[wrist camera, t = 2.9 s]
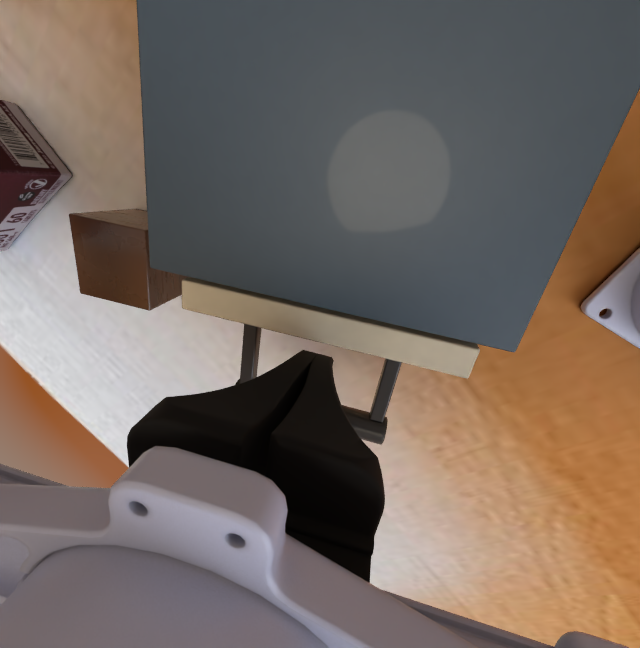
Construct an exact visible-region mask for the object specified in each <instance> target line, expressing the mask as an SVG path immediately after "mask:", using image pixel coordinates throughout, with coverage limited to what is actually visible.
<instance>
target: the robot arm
mask: <svg viewBox="0 0 640 648" xmlns="http://www.w3.org/2000/svg"><path fill="white" fill-rule="evenodd" d="M603 309H607V312H606V314H604V315H602V316H599V313H600V311H601V310H603ZM581 310H582V312H583V313H584V314H586V315H587V316H589V317H590V318H592V319H593V320H595V321H597V322H598V323H600V324H601V325H603V326H604V327H606V328H608V329H609V330H611V331H612V332H614V333H615V334H617V335H619V336H620V337H622V338H623V339H625V340H627V341H628V342H630V343H631V344H633V345H634V346H636V347H638V348H639V349H640V248H639V249H638V250H637V251H635V252H634V253H633V254H632V255H631V256H630V257H629V258H628V259H627V260H626V261H625V262H624V263H623V264H622V265H621V266H620V267H619V268H618V269H617V270H616V271H615V272H614V273H613V274H612V275H611V276H609V277H608V278H607V279H606V280H605V281H604V282H603V283H602V284H601V285H600V286H599V287H598V288H597V289H596V290H595V291H594V292H593V293H592V294H591V295H590V296H589V297H588V298H587V299H586V300H584V302H583V303H582V306H581ZM333 361H334V360H333V359H332V357H329V356H325V355H321V354H317V353H313V352H309V351H305V350H302V351H301V352H299V353H297V354H296V355H294V356H293V357H292V358H290V359H289V360H287V361H285V362H284V363H282V364H281V365H279V366H277V367H276V368H274V369H272V370H270V371H268V372H267V373H265V374H263V375H261V376H259V377H256V378H254V379H252V380H249V381H246V382H244V383H241V384H238V385H234V386H231V387H227V388H224V389H220V390H216V391H211V392H206V393H200V394H194V395H185V396H175V397H166V398H164V399H163V400H162V401H161V402H160V403H158V404H157V405H156V406H155V407H154V408H153V409H152V410H151V411H149V412H148V413H147V414H146V415H145V416H144V417H143V418H142V419H141V420H140V421H139V422H138V423H137V424H136V425H135V426H133V427H132V428H131V430H130V432H129V434H128V437H127V450H128V460H129V469H128V470H127V471H126V472H125V473H124V474H123V475H122V476H121V477H120V478H119V479H118V480H117V481H116V482H115V483H114V485H113V486H112V487H111V488H90V487H69V486H66V485H63V484H60V483H57V482H54V481H51V480H48V479H45V478H42V477H39V476H36V475H33V474H30V473H27V472H24V471H21V470H18V469H14V468H11V467H9V466H5V465H3V464H0V648H629V647H627V646H624V645H621V644H617V643H614V642H611V641H608V640H605V639H602V638H599V637H596V636H593V635H590V634H586V633H583V632H577V631H574V632H567V633H565V634H564V635H562V636H561V637H560V638H559V640H558V641H557V643H556V645H555V647H553V646H550V645H547V644H544V643H541V642H538V641H535V640H532V639H529V638H526V637H523V636H520V635H517V634H514V633H511V632H508V631H505V630H502V629H499V628H496V627H493V626H489V625H486V624H483V623H480V622H477V621H474V620H471V619H468V618H465V617H462V616H459V615H456V614H453V613H450V612H447V611H444V610H441V609H438V608H435V607H432V606H429V605H426V604H423V603H420V602H417V601H414V600H411V599H408V598H405V597H402V596H399V595H396V594H393V593H390V592H387V591H384V590H381V589H379V588H377V587H375V586H374V585H372V584H370V565H371V556H372V554H373V549H374V535H375V533H376V530H377V527H378V524H379V522H380V519H381V516H382V513H383V510H384V504H385V494H384V485H383V479H382V473H381V469H380V464H379V460H378V458H377V456H376V455H375V454H374V453H373V452H372V451H371V450H370V449H369V448H368V447H367V446H366V445H365V443H364V442H363V441H362V440H361V439H360V437H359V436H358V435H357V433H356V432H355V430H354V429H353V427H352V425H351V424H350V422H349V420H348V419H347V417H346V415H345V413H344V410H343V408H342V406H341V403H340V401H339V398H338V394H337V391H336V387H335V383H334V378H333V368H332V366H333Z"/></svg>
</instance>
